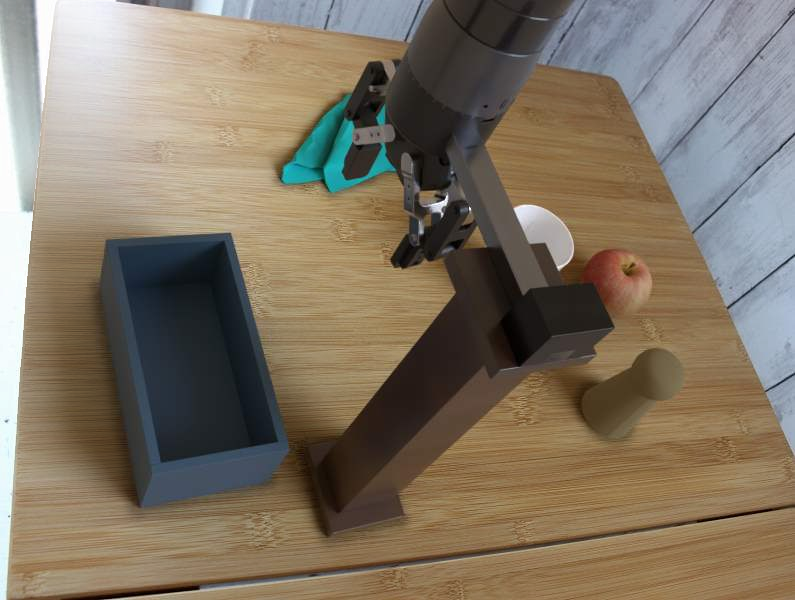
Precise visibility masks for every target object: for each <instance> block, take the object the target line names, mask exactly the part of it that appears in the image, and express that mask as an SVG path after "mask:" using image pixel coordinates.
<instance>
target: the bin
mask: <svg viewBox="0 0 795 600" xmlns="http://www.w3.org/2000/svg"><path fill="white" fill-rule="evenodd" d="M243 274H244V273H243V271H242V268H241V263H240V259H239V257H238V252H237V249H236V244H235V241H234V238H233V235H232V232H217V233H216V232H215V233H198V234H180V235H179V234H178V235H162V236H143V237H142V236H141V237H129V238H128V237H127V238H126V237H125V238H108V239H107V238H106V239H105V243H104V250H103V257H102V263H101V270H100V277H99V284H98V292H99V299H100V303H101V308H102V313H103V314H102V315H103V320H104V324H105V330H106V335H107V340H108V346H109V352H110V356H111V363H112V367H113V373H114V378H115V384H116V390H117V396H118V399H119V405H120V410H121V415H122V421H123V426H124V432H125V437H126V443H127V449H128V453H129V459H130V464H131V471H132V475H133V481H134V485H135V491H136V492H135V493H136V497H137V502H138V508H139V509H144V508H149V507H154V506H160V505H164V504H168V503H169V504H170V503H173V502H180V501H184V500H185V501H186V500H189V499H194V498H198V497H199V498H200V497H204V496H210V495H213V494H218V493H223V492H227V491H234V490H238V489H243V488H248V487H253V486H258V485H264V484H267V483H268V482H269V480H270V479H271V477H272V476H273V475H274V473H275V472H276V470H277V469H278V468H279V466H280V465H281V464H282V462H283V460H284V459H285V458H286V456H287V455H288V454H289V452H290V450H291V448H290V443H289V440H288V435H287V432H286V429H285V425H284V422H283V417H282V415H281V411H280V407H279V404H278V403H279V402H278V399H277V396H276V391H275V389H274V386H273V381H272V377H271V374H270V370H269V367H268V363H267V359H266V356H265V353H264V348H263V344H262V341H261V338H260V337H261V336H260V333H259V330H258V326H257V323H256V320H255V319H256V318H255V316H254V311H253V308H252V304H251V299H250V298H249V297H250V296H249V293H248V291H247V286H246V282H245V279H244V275H243Z"/></svg>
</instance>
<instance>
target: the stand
mask: <svg viewBox="0 0 795 600" xmlns="http://www.w3.org/2000/svg"><path fill="white" fill-rule="evenodd" d="M530 246H531V249H532V251H533V253H534V255H535V258H536V260H537V262H538V264H539V266H540V269H541V271H542V273H543V275H544V278H545V280H546V282H547V284H548V286H557V285H566V283H565V281H564V280H563V276H562V275H561V273H560V271H558V268H557V266H556V264H555V262H554V260H553V258H552V255H551V253H550V251H549V249H548V247H547V245H546V243H534V244H530ZM443 264H444V267H445V269H446V272H447V274H448V277H449V280H450V282H451V284H452V287H453V290H454V292H455V293H454V294H453V296H452V297H451V298H450V300H448V301H447V303H446V304H445V306H444V307H443V308H442V310H440V312H439V313H438V314H437V316H435V318H434V319H433V321H432V322H431V323H430V324H429V325H428V327H427V328H426V329H425V330H424V331H423V333H422V335H420V336H419V338H418V339H417V341H416V342H415V343H414V344H413V345H412V347H411V348H410V349H409V351H408V352H407V353H406V354H405V355H404V357H403V358H402V359H401V360H400V362H399V363H398V364H397V366H396V367H395V368H394V369H393V371H392V372H391V373H390V375H388V377H386V379H385V381H384V382H383V383H382V384H381V386H379V388H378V389H377V391H376V392H375V393H374V394H373V395H372V397H371V398H370V400H369V401H367V403H366V404H365V406H363V408H362V409H361V410H360V411H359V413H358V414H357V416H356V417H354V419H353V421H352V422H351V423H350V424H349V426H348V427H347V428H346V429H345V430H344V432H343V433H342V434H341V436H340V437H339V438H338V439H335V440H330V441H329V440H328V441H324V442H318V443H313V444H307V445H306V446H305V447H304V449H303V452H304V456H305V459H306V463H307V467H308V471H309V474H310V477H311V482H312V485H313V488H314V492H315V495H316V499H317V502H318V507H319V510H320V514H321V516H322V521H323V525H324V528H325V531H326V535H327V538H329V539H330V538H332V537H337V536H343V535H345V534H346V535H347V534H349V533H354V532H358V531H362V530H366V529H371V528H374V527H378V526H383V525H386V524H391V523H395V522H399V521H401V520H402V519H403V518H405V517H406V514H405V511H404V508H403V505H402V502H401V499H400V496H399V494H401V492H403V491H404V490H405V489H407V487H408V486H410V485H411V483H413V482H414V481H415V480H416V479H417V478H418V477H419V476H421V474H422V473H424V472H425V471H426V470H427V469H428V468H429V467H430V466H431V465H432V464H434V463H435V462H436V461H437V460H438V459H439V458H440V457H441V456H442V455H443V454H444V453H446V452H447V451H448V450H449V449H450V448H451V447H452V446H454V444H456V443H457V442H458V441H459V440H460V439H461V438H462V437H463V436H464V435H465V434H466V433H468V432H469V431H470V430H472V428H473V427H474V426H475V425H476V424H477V423H478V422H480V421H481V420H482V419H483V418H484V417H485V416H486V415H487V414H488V413H489V412H491V411H492V410H493V409H494V408H495V407H496V406H497V405H499V403H500V402H501V401H503V400H504V399H505V398H506V397H507V396H509V394H511V392H512V391H514V390H515V389H516V388H517V387H518V386H519V385H520V384H522V382H524V381H525V380H526V379H527V378H528V377H529V376H531V374H535V373H541V372H545V371H552V370H560V369H565V368H570V367H577V366H584V365H588V364H589V363H590V362H591V361H593V360H594V359H595V358H596V357H597V356H598V354H597V351H596V349H595V346H594V347H592V348H591V349H590V350H589V351H588V352H587V353H585V354H584V355H583V356H582V357H581V358H576V359H569V360H563V361H557V362H550V363H544V364H538V365H531V366H525V367H519V366H518V364H517V361H516V359H515V356H514V354H513V352H512V349H511V347H510V344H509V342H508V340H507V337H506V335H505V332H504V330H503V327H502V325H501V323H500V320H501V319H502V318H503V317H504V316H505V315H506V314H507V313H508V312H509V311H510V310H511V308H512V306H511V303H510V301H509V299H508V296H507V294H506V292H505V289H504V287H503V284H502V282H501V280H500V277H499V275H498V273H497V270H496V268H495V266H494V263H493V261H492V258H491V256H490V254H489V251H488V249H487V247H485V246H484V247H483V246H481V247H469V248H467V247H466V248H463V249H454V250H450V252H449V253H448V254H447V256H446V257H445V258H443Z"/></svg>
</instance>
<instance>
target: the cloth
mask: <svg viewBox="0 0 795 600" xmlns="http://www.w3.org/2000/svg"><path fill="white" fill-rule="evenodd" d="M351 94H352V93H349V94H346V95H345V96H344V98H343V99H342V100H341V101H339V102H338V103H337V104H336V105H334V106H333V107H332V108H331V109H330V110H329V111H327V113H326V114H324V116H322V117H321V119H320V120H319V122H318V123H317V124H316V125H315V126H314V128H313V130H312V131H311V133H310V135H309V136H308V137H307V139H306V140H305V141H304V142H303V144H302V145H300V147H299V149H297V151H296V152H295V154H294V155H293V156H292V158H291V160H290V162H289V163H287V164H285V165H283V166H282V172H281V181H282V183H283V184H302V183H308V182H315V181H320V180H321V181H322V180H324V183H325V185H326V187H327V189H328V191H329V193H330V194H333V193H336V192H338V191H342V190H344V189H347V188H350V187H353V186H355V185H357V184H360V183H362V182H364V181H366V180H369V179H371V178H373V177H375V176H377V175H380V174H381V173H384V172H388V171H389V172H396V170H395V168H394V167H393V166H392V165H391V164H390V163H389V161H388V159H387V158H386V156H385V153H386V149H385V143H384V142H383V143H381V145H382V149H381V151H380V153H379V155H378V157H377V158H376V160H375V162H374V164H373V166H372V168H371V170H370V172H369V174H368V175H367V176H365V177H363V178H358V179H353V180H345V178H344V176H343V174H342V172H341V171H342V169H343V167H344V159H345V156H346V154H347V152H348V150H349V148H350V146H351V144H352V142H353V140H352V131H353V130H354V125H353V122H352V121H347V120H346V118H345V115H344V108H345V106H346V104H347V102H348V100H349V98H350V96H351ZM376 118H377V121H378V124H379V125H385V105H384V106H383V108H382V110H381V112H380V113H379V115H378V117H376Z"/></svg>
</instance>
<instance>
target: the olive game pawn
mask: <svg viewBox="0 0 795 600" xmlns="http://www.w3.org/2000/svg"><path fill="white" fill-rule="evenodd" d="M685 382H686V371H685V367H684V365H683V363H682V362H681V361H680V360H679V358H678V357H677V355H675V354H674V353H672V352H671V351H669V350H668V349H665V348H660V347H653V348H648V349H645V350H643V351H642V352H640V353H639V354H638V355H637V356H636V358H635V359H634V360H633V362H632V363H631V366H630V367H629V368H626V369H624V370H622V371H621V372H619V373H617V374H615V375H613V376H610V377H609V378H607V379H605V380H603V381H601V382H599V383H598V384H596V385H594V386H591V387H590V388H589V389H587V390H586V391H585V392H584V393H583V395H582V397H581V402H580V406H581V413H582V415H583V418H584V420H585V422H586V423H587V424H588V426H589V427H590V428H591V429H592V430H593V431H594V432H595V433H596V434H598V435H600V436H601V437H603V438H605V439H611V440H615V439H621V438H622V437H624V436H625V435H627V433H629V432H630V430H632V428H634V427H635V426H636V425H637V424H638V422H640V421H641V420H642V419H643V418H644V417H645V416H646V415H647V414H648V413H649V412H650V411H651V410H652V409H653V407H654V406H656V405H657V403H658V402H662V401H663V402H664V401H668V400H671V399H673V398H674V397H676V396H677V395H678V394H680V393H681V391H682V390H683V388H684V386H685Z"/></svg>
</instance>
